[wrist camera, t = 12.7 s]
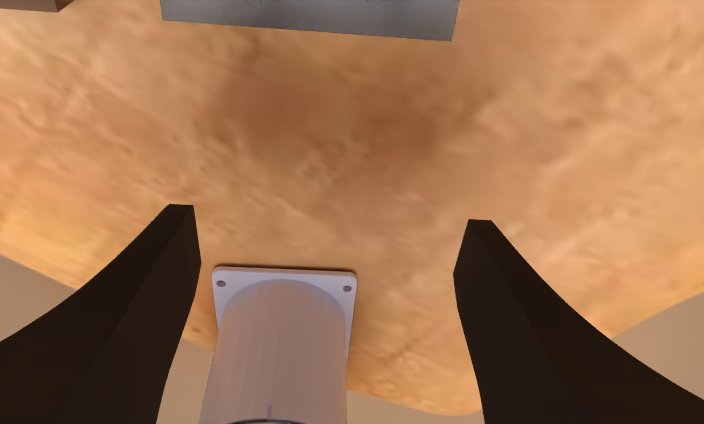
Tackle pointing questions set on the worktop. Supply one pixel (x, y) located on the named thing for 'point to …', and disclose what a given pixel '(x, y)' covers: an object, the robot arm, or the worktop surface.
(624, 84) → the worktop surface
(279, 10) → the socket block
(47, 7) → the brown square frame
